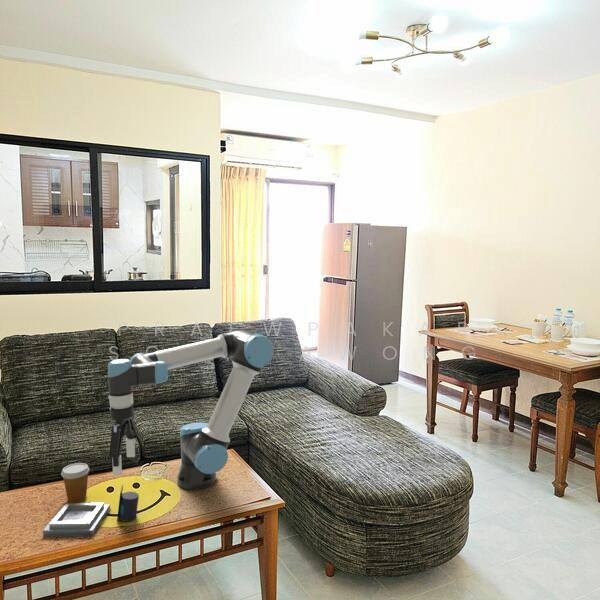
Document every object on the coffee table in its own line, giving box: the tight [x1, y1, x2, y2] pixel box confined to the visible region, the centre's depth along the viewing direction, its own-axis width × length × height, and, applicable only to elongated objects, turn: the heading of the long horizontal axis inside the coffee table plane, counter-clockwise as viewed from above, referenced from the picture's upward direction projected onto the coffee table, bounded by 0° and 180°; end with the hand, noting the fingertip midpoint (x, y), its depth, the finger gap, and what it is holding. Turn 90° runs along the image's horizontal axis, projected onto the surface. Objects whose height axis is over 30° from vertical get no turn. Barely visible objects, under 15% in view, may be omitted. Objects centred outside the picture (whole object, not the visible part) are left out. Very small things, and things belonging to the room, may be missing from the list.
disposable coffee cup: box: [60, 462, 90, 503], centre depth 189 cm, size 10×10×12 cm
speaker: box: [116, 484, 140, 522], centre depth 176 cm, size 8×6×10 cm
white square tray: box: [42, 502, 111, 537], centre depth 174 cm, size 16×16×4 cm
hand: (124, 465), depth 175 cm, fingers open, 13 cm apart
